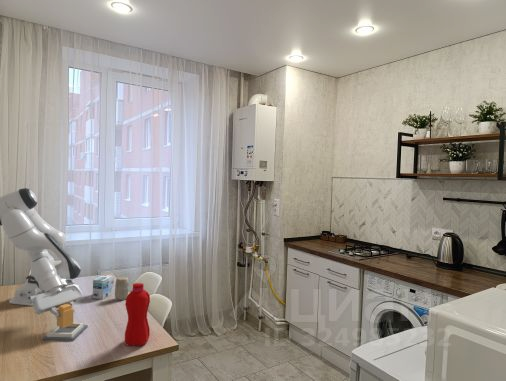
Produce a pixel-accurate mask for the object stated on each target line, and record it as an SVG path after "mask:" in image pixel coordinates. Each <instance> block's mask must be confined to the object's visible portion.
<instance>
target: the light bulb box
mask: <svg viewBox="0 0 506 381" xmlns="http://www.w3.org/2000/svg"><path fill="white" fill-rule="evenodd" d="M114 284H115V275H109V274H103V275H101V276H99V277H95V278H94V279H92V299H97V300H105V299H106V298H108V297H110V296H112V295H113V293H114V294H115V287H114V286H115V285H114Z"/></svg>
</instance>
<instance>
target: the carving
mask: <svg viewBox="0 0 506 381" xmlns="http://www.w3.org/2000/svg"><path fill="white" fill-rule="evenodd" d="M129 280H130V279H129V277H127V276H120V277H119V276H118V277H117V278H116V281H115V283H114V284H115V285H114V286H115V287H114V298H115V299H116V300H119V301H123V300H125V301H126V298H127V296H128V294H129V293H130V287H129V286H130V284H129Z"/></svg>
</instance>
